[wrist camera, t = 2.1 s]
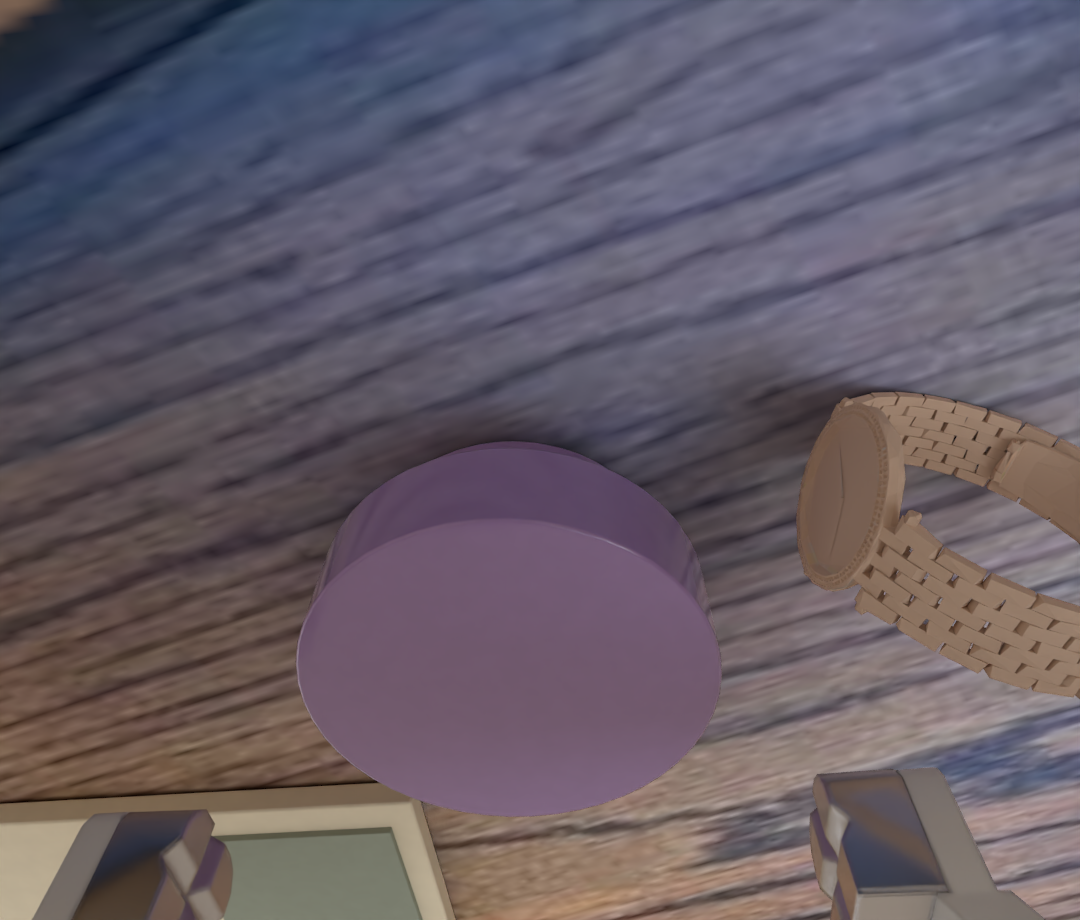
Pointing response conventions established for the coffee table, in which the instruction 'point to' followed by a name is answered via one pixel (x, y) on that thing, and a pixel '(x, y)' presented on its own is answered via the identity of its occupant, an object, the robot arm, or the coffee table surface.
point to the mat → (261, 851)
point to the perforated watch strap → (883, 544)
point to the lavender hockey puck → (510, 634)
